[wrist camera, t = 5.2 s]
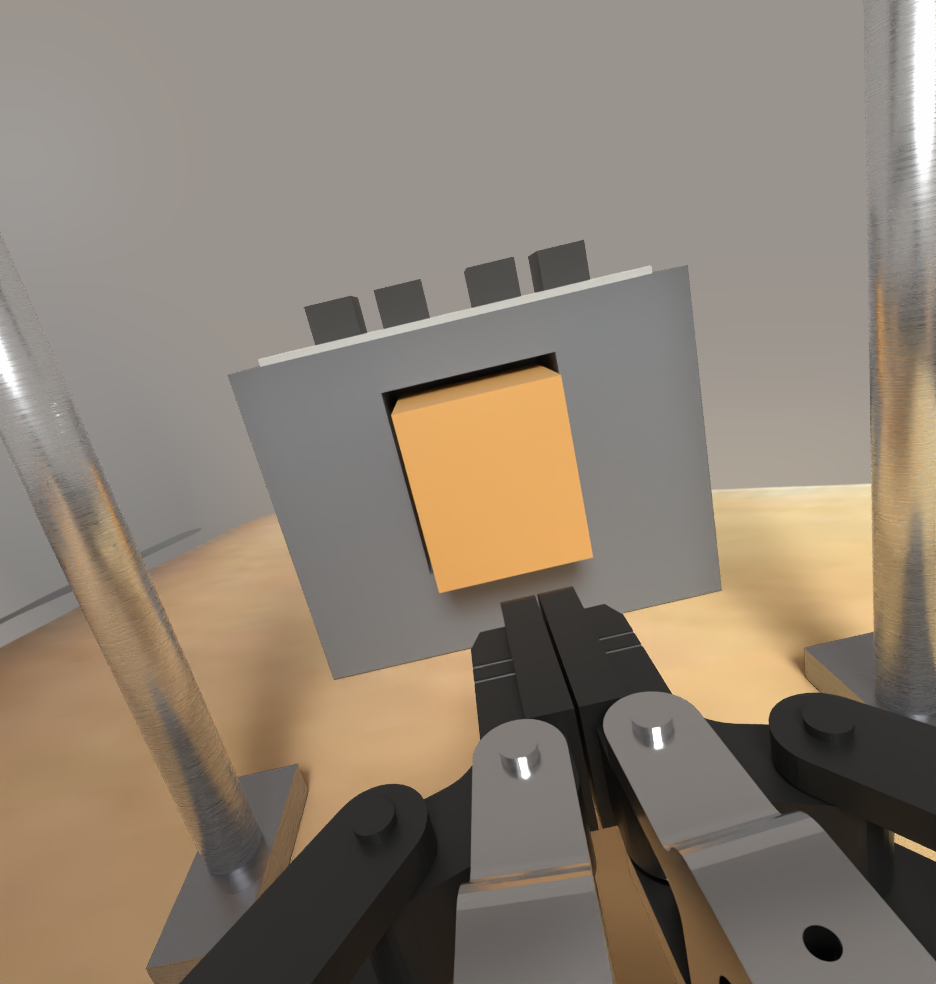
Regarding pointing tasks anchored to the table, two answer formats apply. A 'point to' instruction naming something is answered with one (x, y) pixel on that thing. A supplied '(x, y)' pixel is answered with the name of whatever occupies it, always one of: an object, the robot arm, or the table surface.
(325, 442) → the box
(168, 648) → the cord gate
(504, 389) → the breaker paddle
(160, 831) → the table surface
